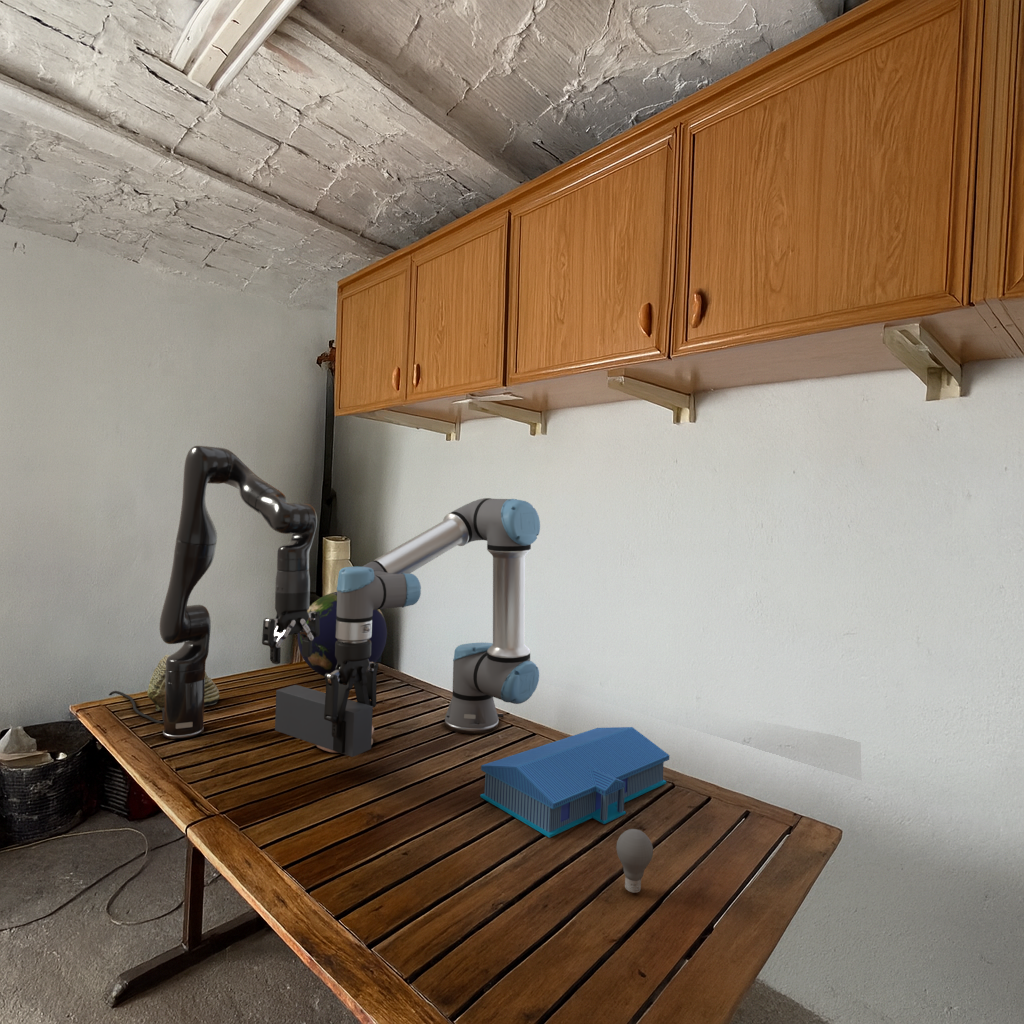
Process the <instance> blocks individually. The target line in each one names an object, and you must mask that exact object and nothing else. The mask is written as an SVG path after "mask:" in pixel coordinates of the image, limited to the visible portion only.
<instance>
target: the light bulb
mask: <svg viewBox="0 0 1024 1024" xmlns="http://www.w3.org/2000/svg"><path fill="white" fill-rule="evenodd" d="M615 849H616V854H617V857H618V859H619V861H620V863H621V865H622V867H623V873H624V874H623V875H624V876H625V878H624V888H625V890H627V891H628V892H630V893H634V894H635V893H639V892H640V891H641V889H642V887H641V886H642V879H643V877H644V875H645V871H646V868H647V867H648V866H649V864H650V863H651V861H652V859H653V855H654V847H653V843H652V841H651V838H649V836H648V835H647V834H646V833H645V832H643V831H642V830H641V829H636V828H629V829H627V830H625V831H623V832H622V833H621V834H620V835H619V837H618V839H617V841H616V847H615Z"/></svg>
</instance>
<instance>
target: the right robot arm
mask: <svg viewBox="0 0 1024 1024" xmlns="http://www.w3.org/2000/svg"><path fill="white" fill-rule="evenodd" d="M540 531H541V521H540V515H539V513H538V511H537V510H536V508H535V507H534V506H533V504H531V503H530V502H529V501H526V500H521V499H517V498H492V497H491V498H490V497H484V498H479V499H476V500H473V501H470V502H468V503H466V504H464V505H462V506H460V507H457V508H456V509H454V510H452V511H450V512H449V513H447V514H446V515H445V516H444V517H443V519H442V521H441V522H439V523H437V524H435V525H434V526H432V527H430V528H428V529H427V530H424V531H423V532H421V533H420V534H417V535H415V536H414V537H412V538H411V539H408V540H406V541H405V542H404V543H402V544H400V545H397V546H396V547H394V548H393V549H391V550H389V551H387V552H385V553H384V554H382V555H380V556H378V557H377V558H375V559H373V560H371V561H369V562H368V563H366V564H363V566H362V565H361V566H360V565H359V566H356V565H355V566H345V567H342V568H341V569H340V570H339V572H338V577H337V583H336V592H337V619H336V638H337V639H338V640H337V641H336V642H335V657H336V659H337V666H336V668H335V671H333V672H332V673H326V674H325V676H324V681H325V693H326V695H325V710H324V719H325V720H328V721H331V722H332V737H333V751H336V752H339V753H338V754H342V753H344V752H345V729H346V722H345V721H343V717H344V713H345V709H346V704H347V700H348V699H349V695H350V691H351V690H352V689H353V686H354V693H355V699H356V702H359V703H363V704H366V705H370V706H373V709H375V708H376V707H377V674H378V669H379V662H376V663H374V662H370V661H369V660H368V658H370V656H371V640H370V638H371V636H372V616H373V610H378V609H380V610H385V609H395V608H405V607H411V606H414V605H416V604H417V603H418V601H420V598H421V595H422V593H421V592H422V586H421V582H420V580H419V578H418V576H416V574H413V573H414V572H415V571H417V570H419V569H420V568H422V567H423V566H425V565H427V564H428V563H430V562H431V561H434V560H435V559H437V558H438V557H440V556H441V555H443V554H445V553H447V552H449V551H450V550H452V549H453V548H455V547H457V546H458V547H463V546H465V545H467V544H470V543H471V542H475V541H476V542H477V541H486V550H487V552H489V554H490V555H491V556H492V642H470V643H469V642H468V643H463V644H460V645H457V646H456V647H455V649H454V652H453V658H452V659H453V660H452V661H453V662H452V695H451V699H450V703H449V705H448V708H447V710H446V714H445V717H444V726H445V727H446V728H447V729H448V730H450V731H452V732H455V733H459V734H467V735H481V734H486V733H490V732H493V731H495V730H497V729H498V728H499V718H504V714H502V713H498V711H497V708H496V704H495V700H494V698H495V699H498V700H500V701H503V702H504V703H510V704H515V705H520V704H523V703H525V702H527V701H528V700H530V699H531V697H532V696H533V695H534V693H535V691H536V690H537V687H538V685H539V681H540V669H539V667H538V666H537V664H536V663H535V662H534V661H532V660H531V649H530V648H529V646H527V645H526V640H525V639H526V636H525V635H526V606H525V605H526V556H527V555H528V554H529V553H530V552H531V550H532V544H534V543H535V542H536V541H537V539H538V536H539V535H540ZM337 715H338V716H337Z"/></svg>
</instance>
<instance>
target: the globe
mask: <svg viewBox="0 0 1024 1024" xmlns="http://www.w3.org/2000/svg"><path fill="white" fill-rule="evenodd" d="M307 611H308V613H309V611H315V612H319V626H320V635H319V636H318V637H315V638H314V639H313V640H312V653H311V656H310V657H304V656H302V640H304V639H303V638H302V636H301V635H300V634H299V633H297V646H298V650H299V653H300V655H301V657H302V659H303V660H304V662H305V664H306V665H308V667H309V668H310V669H311V670H313V672H316V673H317V674H318V675H321V676H322V677H325V674H326V673H332V672H333V671H335V668H336V666H337V659H336V657H335V642H336V641H337V640H338V639H337V638H336V619H337V591H333V592H331V593H327V594H325V595H323V596H321V597H319V598H318V599H316V600H315V601H314V602H312V603H311V604H310V607H309V609H308V610H307ZM306 624H307V625H308V627H309V622H308V621H307V622H306ZM387 628H388V627H387V622H386V619H385V616H384V614H383V612H382V610H381V609H378V610H373V616H372V636H371V638H370V640H371V656H370V658H368V660H369V661H370V662H374V663H378V661H379V659H380V657H381V656H382V654H383V653H384V650H385V647H386V644H387V638H388V629H387Z"/></svg>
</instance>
